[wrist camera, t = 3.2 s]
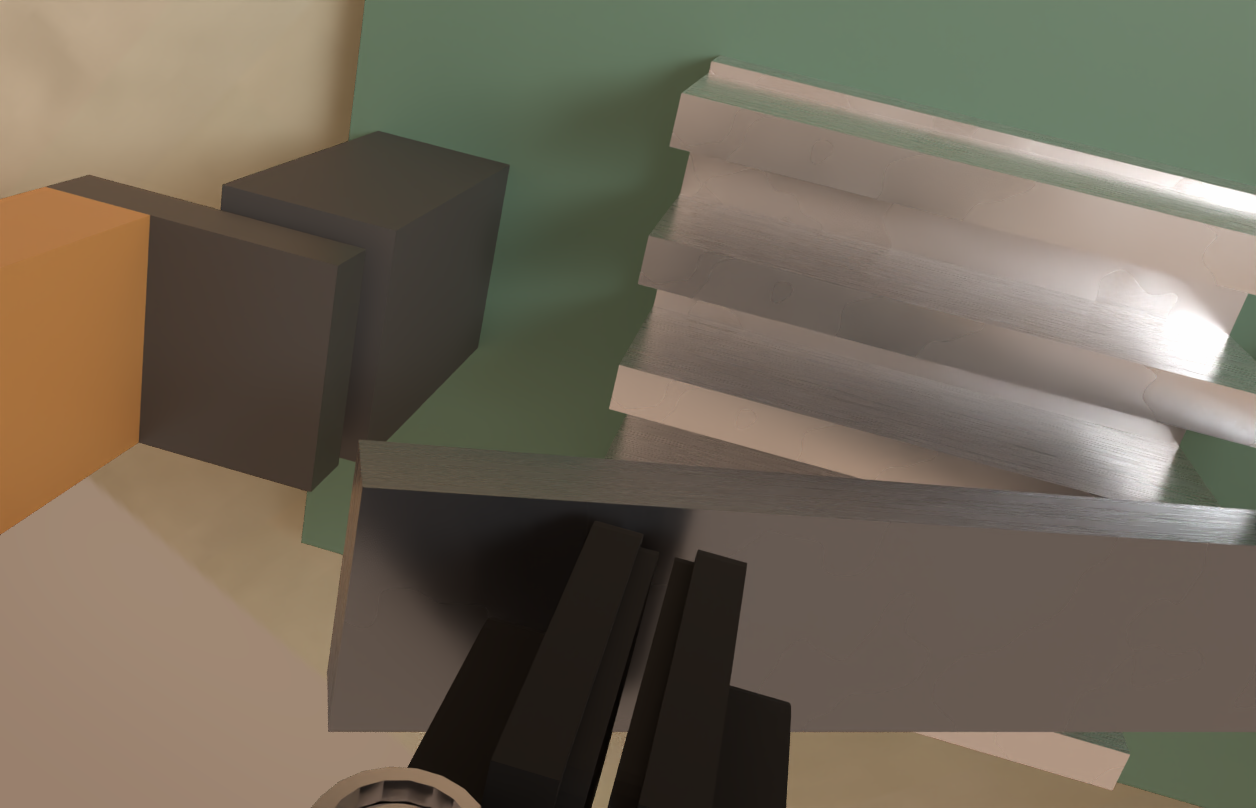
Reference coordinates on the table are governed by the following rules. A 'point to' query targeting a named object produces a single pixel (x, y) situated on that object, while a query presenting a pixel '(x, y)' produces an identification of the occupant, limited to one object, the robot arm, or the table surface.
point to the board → (652, 180)
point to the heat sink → (937, 313)
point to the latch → (166, 339)
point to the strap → (812, 592)
